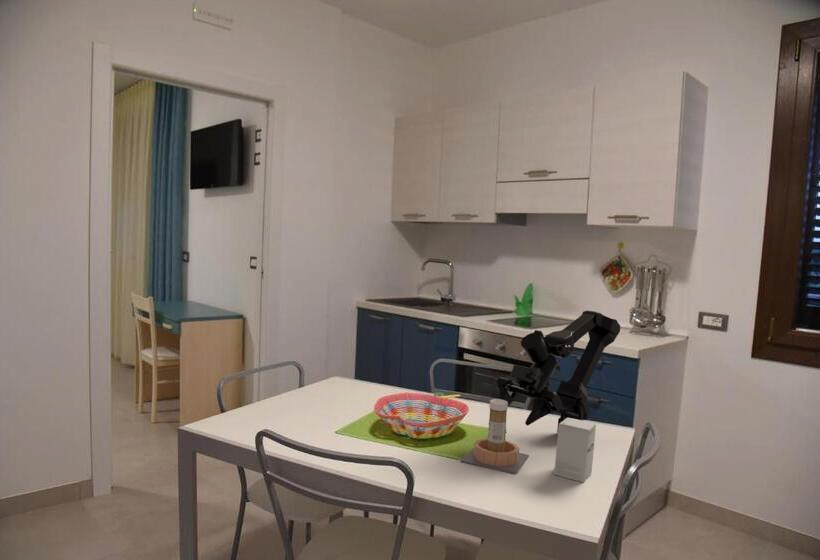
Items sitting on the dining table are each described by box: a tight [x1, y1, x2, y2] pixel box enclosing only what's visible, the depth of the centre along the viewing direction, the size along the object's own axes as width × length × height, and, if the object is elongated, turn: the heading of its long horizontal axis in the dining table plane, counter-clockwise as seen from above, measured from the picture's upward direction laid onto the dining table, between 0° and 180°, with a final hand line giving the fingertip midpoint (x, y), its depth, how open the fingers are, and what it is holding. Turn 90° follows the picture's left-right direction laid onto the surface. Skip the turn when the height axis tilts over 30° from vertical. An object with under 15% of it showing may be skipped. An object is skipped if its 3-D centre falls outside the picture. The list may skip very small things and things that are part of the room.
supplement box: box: [553, 418, 597, 483], centre depth 139 cm, size 7×7×13 cm
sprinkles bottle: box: [487, 398, 509, 452], centre depth 146 cm, size 5×5×14 cm
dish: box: [460, 437, 530, 475], centre depth 146 cm, size 14×14×3 cm
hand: (511, 419), depth 149 cm, fingers open, 9 cm apart
